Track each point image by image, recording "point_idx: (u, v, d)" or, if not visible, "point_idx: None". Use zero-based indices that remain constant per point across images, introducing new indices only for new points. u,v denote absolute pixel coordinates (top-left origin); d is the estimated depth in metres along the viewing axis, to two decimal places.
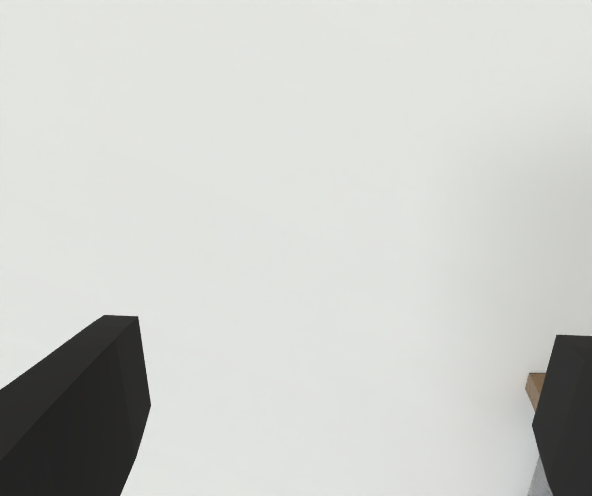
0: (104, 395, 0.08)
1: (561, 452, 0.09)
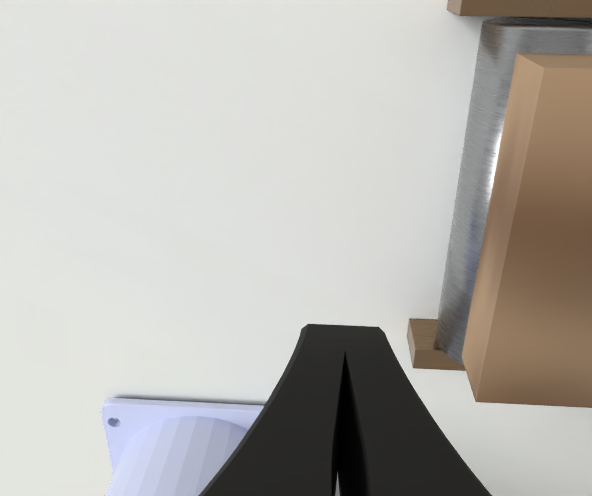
0: (339, 407, 0.08)
1: (340, 440, 0.09)
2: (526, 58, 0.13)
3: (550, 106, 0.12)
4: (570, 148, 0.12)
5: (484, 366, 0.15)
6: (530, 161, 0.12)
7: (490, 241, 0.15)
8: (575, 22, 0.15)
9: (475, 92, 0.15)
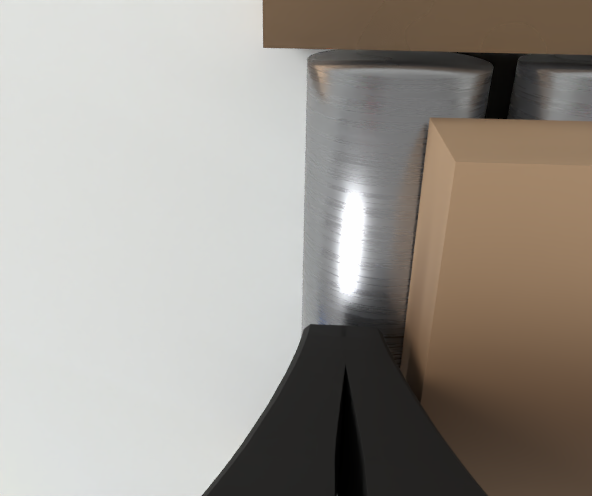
0: (341, 407, 0.08)
1: None
2: (438, 132, 0.08)
3: (471, 225, 0.07)
4: (509, 291, 0.07)
5: None
6: (443, 308, 0.07)
7: None
8: (453, 56, 0.10)
9: (305, 160, 0.10)
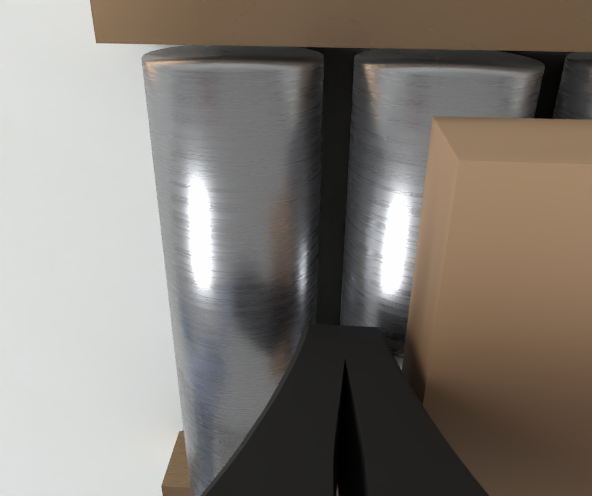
0: (340, 407, 0.08)
1: None
2: (442, 130, 0.07)
3: (474, 224, 0.07)
4: (513, 290, 0.07)
5: None
6: (446, 308, 0.07)
7: None
8: (296, 51, 0.10)
9: None
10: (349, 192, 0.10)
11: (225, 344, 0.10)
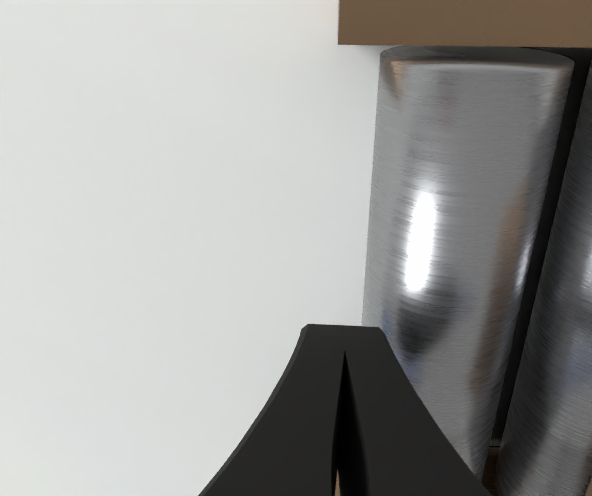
0: (339, 407, 0.08)
1: (340, 440, 0.09)
2: None
3: None
4: None
5: None
6: None
7: None
8: (526, 51, 0.10)
9: (374, 159, 0.10)
10: (576, 196, 0.10)
11: (443, 352, 0.10)
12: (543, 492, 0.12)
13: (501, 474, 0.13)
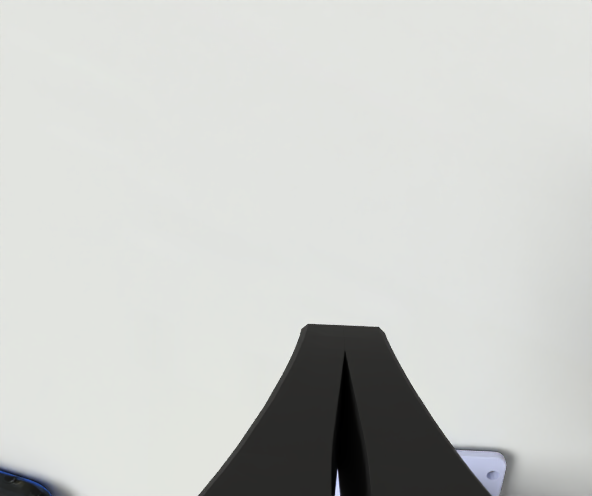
0: (339, 407, 0.08)
1: (340, 440, 0.09)
2: None
3: None
4: None
5: None
6: None
7: None
8: None
9: None
10: None
11: None
12: None
13: None
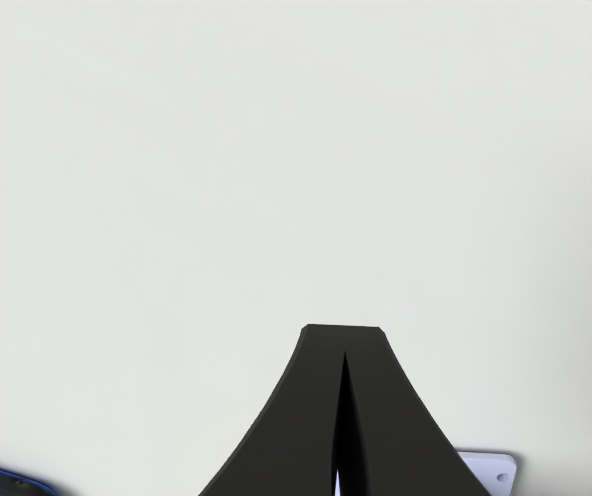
0: (339, 407, 0.08)
1: (340, 440, 0.09)
2: None
3: None
4: None
5: None
6: None
7: None
8: None
9: None
10: None
11: None
12: None
13: None
